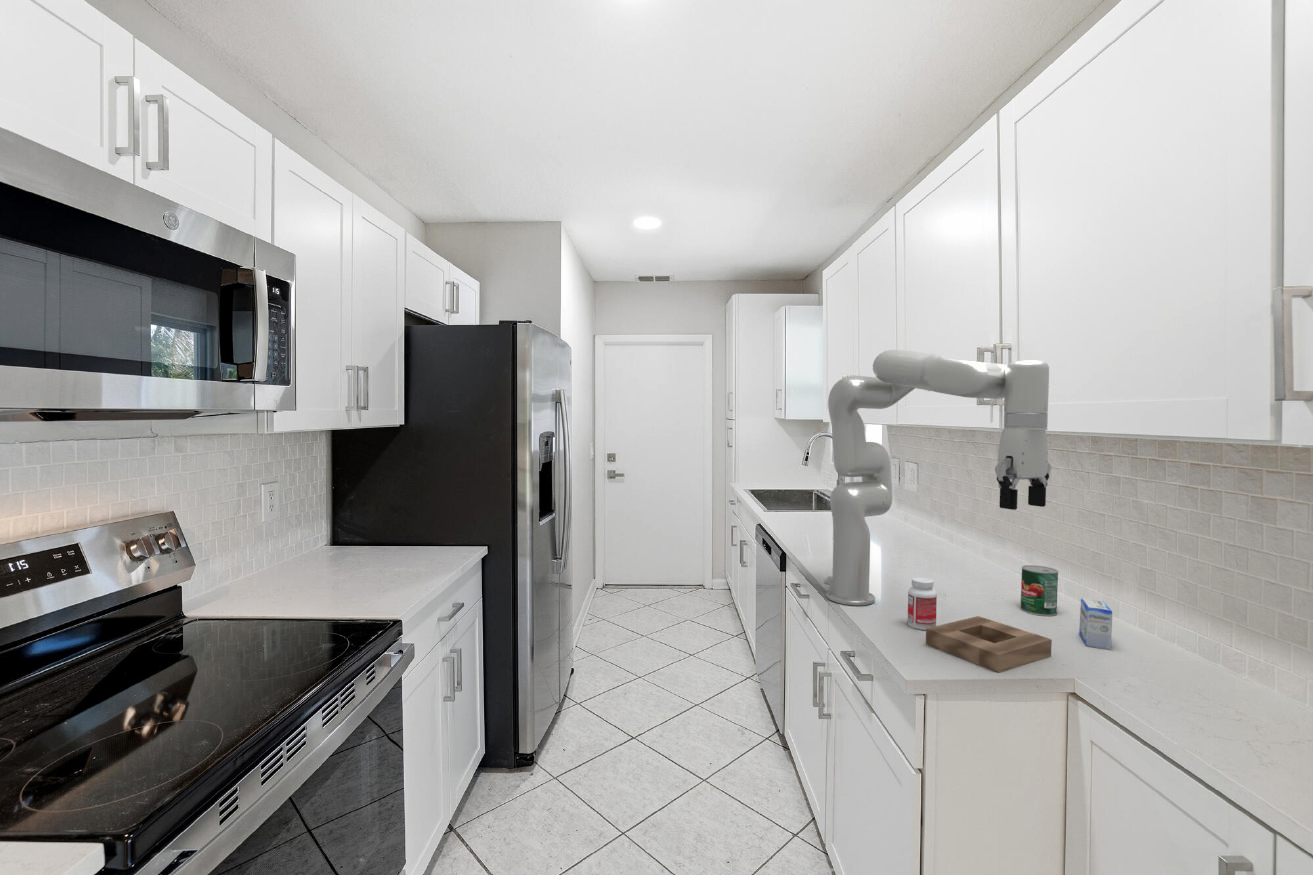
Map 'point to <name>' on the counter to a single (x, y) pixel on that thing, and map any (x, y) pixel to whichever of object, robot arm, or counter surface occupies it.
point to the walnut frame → (989, 643)
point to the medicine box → (1095, 623)
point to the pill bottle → (922, 604)
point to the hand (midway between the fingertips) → (1022, 507)
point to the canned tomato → (1039, 590)
